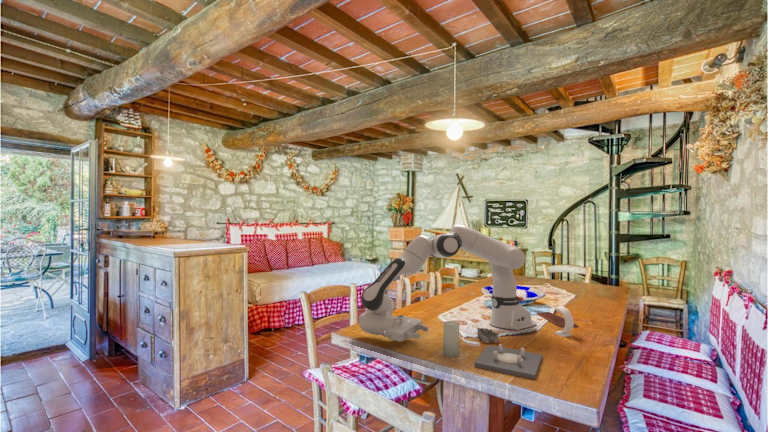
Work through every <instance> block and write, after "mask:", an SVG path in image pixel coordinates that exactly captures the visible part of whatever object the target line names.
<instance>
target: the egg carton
mask: <svg viewBox="0 0 768 432" xmlns="http://www.w3.org/2000/svg"><path fill="white" fill-rule="evenodd" d="M476 330H477V337H478V338H479V339H480V340H481V341H482V343H486V344H490V343H494V344H496V343H498V342H499V339H500V338H499V336H500V334H499V332H496V331H493V329H491V328H490V329H488V328H483V327H481V328H480V327H476Z"/></svg>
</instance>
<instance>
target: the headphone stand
mask: <svg viewBox="0 0 768 432" xmlns="http://www.w3.org/2000/svg"><path fill="white" fill-rule="evenodd" d="M554 309H555V310H556V311H558V312H559V313H560V314H561V315H562V318H564V320H565V327H564V328H562V329H563V330H557V331H555V332H554V334H555V335H557V336H560V337H563V338H567V337H570V336H572V335H573V334H572V333H571V331H572V330H573V326H574V324H575V322H574V317H573V314H572V313H571V312H570V310H569V309H568V308H566V307H565V306H563V305H561V306H555V307H554Z"/></svg>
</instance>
